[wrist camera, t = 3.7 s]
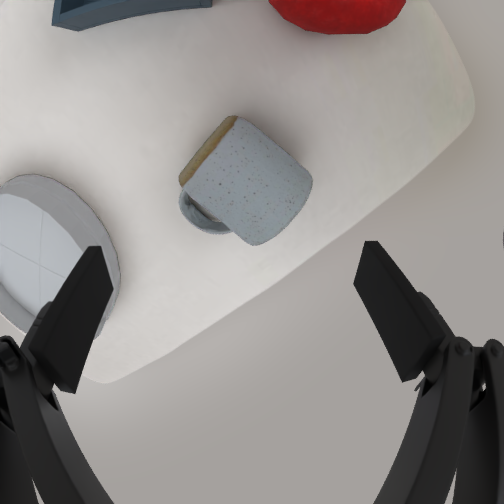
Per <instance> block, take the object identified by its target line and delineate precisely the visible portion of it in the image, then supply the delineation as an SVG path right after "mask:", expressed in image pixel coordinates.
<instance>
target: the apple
mask: <svg viewBox="0 0 504 504" xmlns="http://www.w3.org/2000/svg"><path fill="white" fill-rule="evenodd" d="M269 2H270V4H271V5H272V6H273V7H274V8H275V9H276V10H277V11H278V13H279V14H280V15H281V16H282V17H283V18H284V19H285V20H287V21H289V22H291V23H293V24H295V25H297V26H299V27H301V28H302V29H304V30H307V31H313V32H318V33H324V34H368V33H370V32H372V31H375V30H377V29H379V28H382V27H384V26H387V25H388V24H389V23H390V22H392V21H393V20H394V19H395V18H397V16H398V14H399V13H400V11H401V9H402V8H403V6H404V4H405V3H406V0H269Z"/></svg>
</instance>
